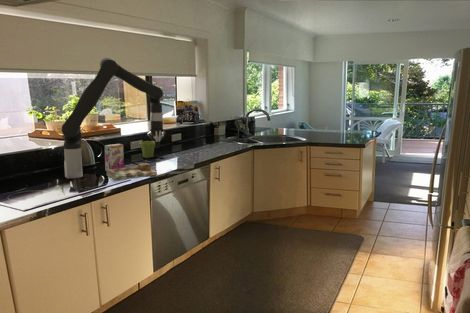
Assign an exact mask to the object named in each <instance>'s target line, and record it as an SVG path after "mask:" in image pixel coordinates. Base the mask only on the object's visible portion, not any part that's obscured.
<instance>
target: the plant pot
mask: <svg viewBox="0 0 470 313" xmlns="http://www.w3.org/2000/svg"><path fill="white" fill-rule="evenodd" d="M139 144H140V147H141V151H142V157H143V158H145V159H150V158H151V157H152V158H154V154H155V153H154V152H155V148H156V147H155V141H152V140H151V141H150V140H146V141H140V142H139Z"/></svg>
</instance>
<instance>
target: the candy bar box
mask: <svg viewBox="0 0 470 313" xmlns="http://www.w3.org/2000/svg"><path fill="white" fill-rule="evenodd" d="M124 147H125V146H124V144H122V143H115V144H114V143H113V144H105V145H104V168H105V169H104V170H105V171H106V172H107V169H106V168H109V169H119V168H125V161H124V160H125V157H124V153H125V152H124V151H125V150H124Z"/></svg>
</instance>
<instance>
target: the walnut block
mask: <svg viewBox="0 0 470 313" xmlns="http://www.w3.org/2000/svg"><path fill="white" fill-rule="evenodd" d="M137 166H138V170H141V171H146V170H151V169H152V164H151V163H148V162H143V163H141V162H140V163H137Z"/></svg>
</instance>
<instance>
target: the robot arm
mask: <svg viewBox="0 0 470 313" xmlns="http://www.w3.org/2000/svg"><path fill="white" fill-rule="evenodd" d="M99 67H100V68H99V70H98V72H97V74H96V75H95V77H94V78H93V80H92V81H91V82H90V83H89V84H88V85H87V86H86V87H85V88H84V90H83V92H82V94H80V97H79V99H78V101H77V102H76V104H75V106H74V108H73V110H72V112H71V114H70V115H69V117H68V118H67V119H66V120H65V121H64V123H63V124H62V126H61V133H62V135H63V136H64V142H63V151H64V152H63V155H64V161H63V163H64V164H63V165H64V177H65V178H66V179H80V178H82V177H83V176H84V175H83V173H84V172H83V161H82V159H83V158H82V157H83V156H82V127H81V125H82V123H83V122H84V121H85V119H86V118H87V116H88V115H89V114H90V113H91V111H92V110H93V109H94V107H96V105H97V104H98V102H99V100H100V98H101V97H102V95H103V93H104V91H105V89H106V88H107V85H108V84H109V82H110V81H111V80H112V79H113V78H114V77H115V78H116V77H117V78H118V79H120V80H122V81H123V82H125V83H127V85H129V86H131V87H132V88H135V89H136V90H138V91H140V92H142V93H143V94H147V95H148V100H149V105H150V116H149V117H150V118H149V121H150V131H149V132H147V134H146V135H147V136H148V137H149V139H150V140H151V141H154V142H155V147H154V148H160V147H161V146H160V145H161V141H163V140H164V138H165V137H166V136H167V133H168V132H166V130H165V131H164V118H163V105H162V103H161V99H162V97H163V96H164V91H163V90H162V88H161V87H159V86H157V85H155V84H153V83H150V82H148V81H147V80H145V79H143V78H142V77H140V76H139V75H137V74H134V73H133V72H130V71H129V70H126V69H125V68H123V67H122V66H120V64H118V63H117V62H116V61H115V60H114V59H113V58H110V57H105V58H103V59H102V60H100V62H99Z"/></svg>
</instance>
